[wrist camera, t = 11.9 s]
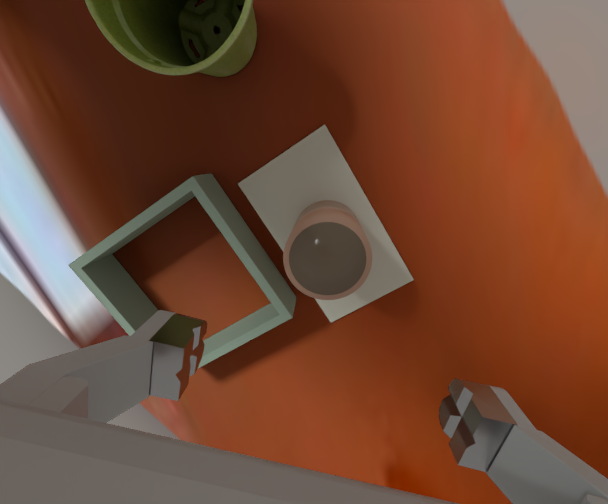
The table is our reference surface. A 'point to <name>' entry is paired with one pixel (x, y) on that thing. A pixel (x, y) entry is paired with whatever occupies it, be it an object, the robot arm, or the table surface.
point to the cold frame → (136, 305)
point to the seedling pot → (327, 252)
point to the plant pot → (179, 33)
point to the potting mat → (316, 187)
